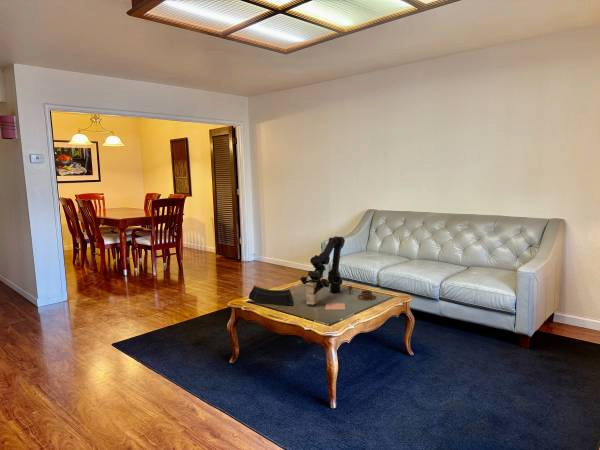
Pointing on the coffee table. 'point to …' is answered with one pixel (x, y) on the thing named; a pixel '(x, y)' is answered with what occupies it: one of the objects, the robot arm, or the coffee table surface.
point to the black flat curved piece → (271, 296)
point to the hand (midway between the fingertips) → (310, 293)
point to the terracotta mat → (334, 306)
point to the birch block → (311, 293)
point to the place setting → (363, 294)
